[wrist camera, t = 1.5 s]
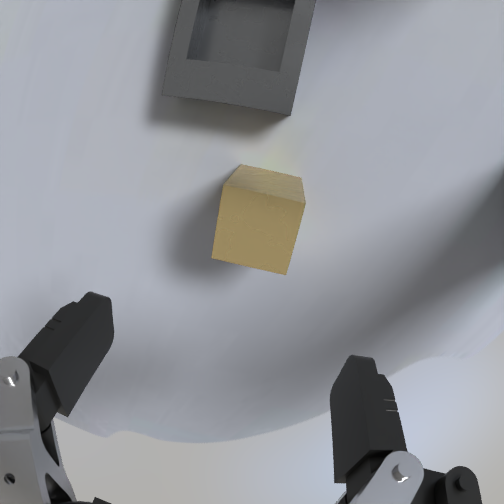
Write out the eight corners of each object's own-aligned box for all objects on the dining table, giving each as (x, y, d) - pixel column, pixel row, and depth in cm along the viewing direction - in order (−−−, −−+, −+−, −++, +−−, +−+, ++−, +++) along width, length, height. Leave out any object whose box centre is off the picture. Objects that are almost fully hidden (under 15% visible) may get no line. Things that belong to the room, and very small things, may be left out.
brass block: (301, 177, 24) (305, 203, 18) (287, 233, 26) (286, 275, 20) (241, 164, 24) (223, 184, 18) (230, 220, 26) (211, 258, 20)
